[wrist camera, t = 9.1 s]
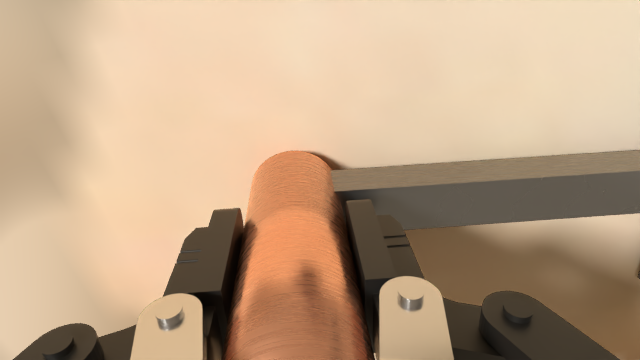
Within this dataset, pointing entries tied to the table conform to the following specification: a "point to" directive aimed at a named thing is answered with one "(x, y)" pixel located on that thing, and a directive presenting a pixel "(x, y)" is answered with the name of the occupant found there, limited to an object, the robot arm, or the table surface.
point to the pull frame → (407, 208)
